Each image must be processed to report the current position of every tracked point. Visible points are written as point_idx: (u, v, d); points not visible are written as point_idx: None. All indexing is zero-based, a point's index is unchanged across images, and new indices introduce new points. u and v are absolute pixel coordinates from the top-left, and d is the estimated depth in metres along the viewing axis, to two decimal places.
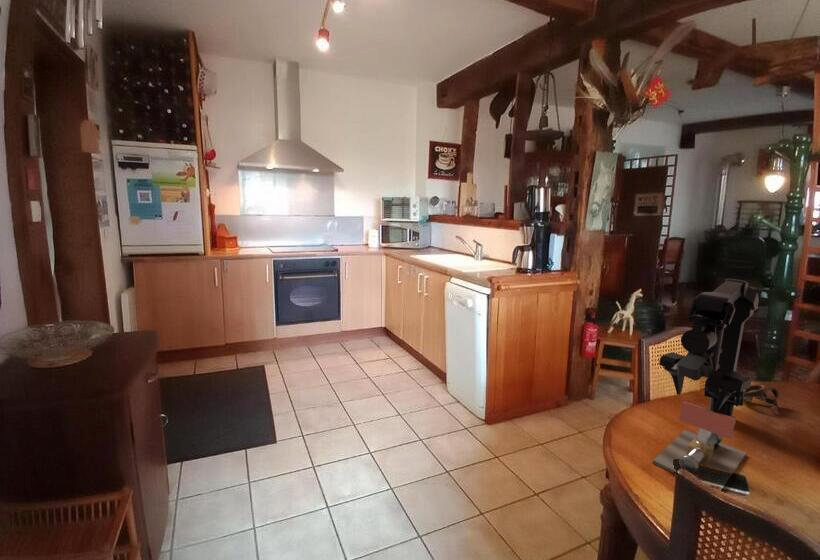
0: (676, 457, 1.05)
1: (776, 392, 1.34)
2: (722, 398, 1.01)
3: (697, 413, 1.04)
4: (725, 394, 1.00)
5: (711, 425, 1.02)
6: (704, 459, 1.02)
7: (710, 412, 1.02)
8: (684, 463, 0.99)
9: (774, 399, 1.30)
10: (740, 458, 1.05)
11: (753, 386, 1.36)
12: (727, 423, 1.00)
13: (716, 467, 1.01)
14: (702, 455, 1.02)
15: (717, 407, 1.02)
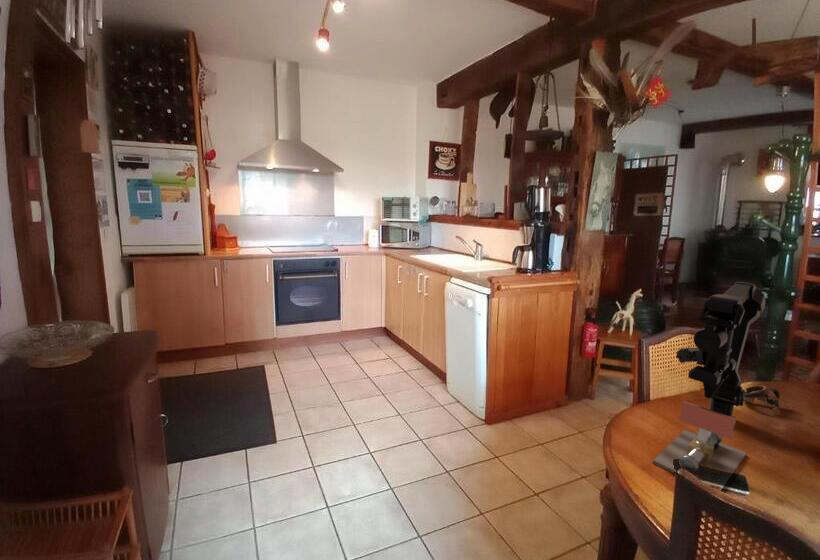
0: (676, 457, 1.05)
1: (778, 393, 1.34)
2: None
3: (697, 413, 1.04)
4: None
5: (711, 425, 1.02)
6: (704, 459, 1.02)
7: (710, 412, 1.02)
8: (684, 463, 0.99)
9: (776, 400, 1.29)
10: (740, 458, 1.05)
11: (754, 387, 1.36)
12: (727, 423, 1.00)
13: (716, 467, 1.01)
14: (702, 455, 1.02)
15: None
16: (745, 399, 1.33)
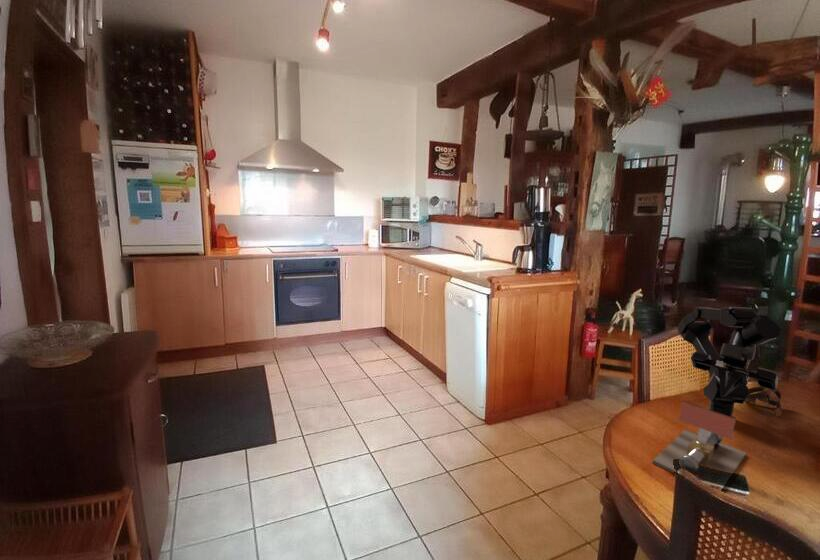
0: (676, 457, 1.05)
1: (779, 394, 1.33)
2: (731, 383, 1.11)
3: (697, 413, 1.04)
4: (736, 379, 1.10)
5: (711, 425, 1.02)
6: (704, 459, 1.02)
7: (710, 412, 1.02)
8: (684, 463, 0.99)
9: (777, 401, 1.29)
10: (740, 458, 1.05)
11: (756, 388, 1.35)
12: (727, 423, 1.00)
13: (716, 467, 1.01)
14: (702, 455, 1.02)
15: (724, 392, 1.11)
16: (747, 400, 1.32)
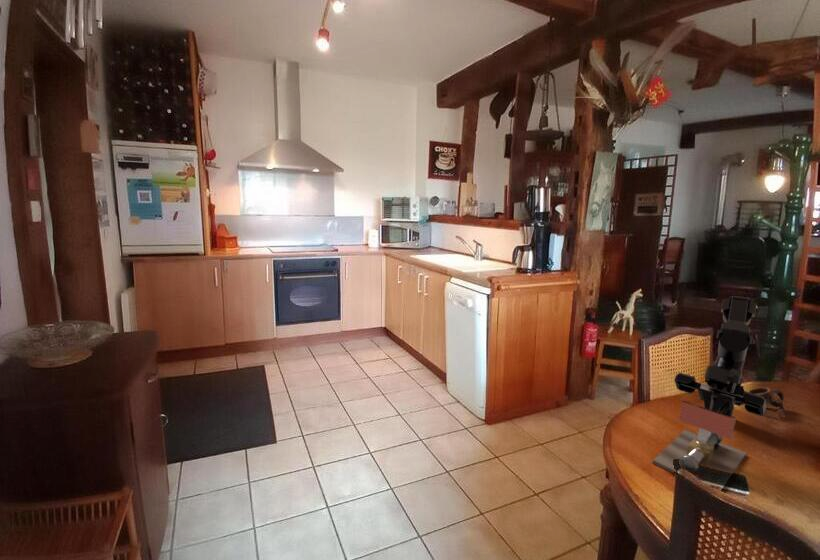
0: (676, 457, 1.05)
1: (782, 395, 1.32)
2: (717, 408, 1.03)
3: (697, 413, 1.04)
4: (721, 404, 1.03)
5: (711, 425, 1.02)
6: (704, 459, 1.02)
7: (710, 412, 1.02)
8: (684, 463, 0.99)
9: (780, 402, 1.28)
10: (740, 458, 1.05)
11: (758, 389, 1.34)
12: (727, 423, 1.00)
13: (716, 467, 1.01)
14: (702, 455, 1.02)
15: None
16: None
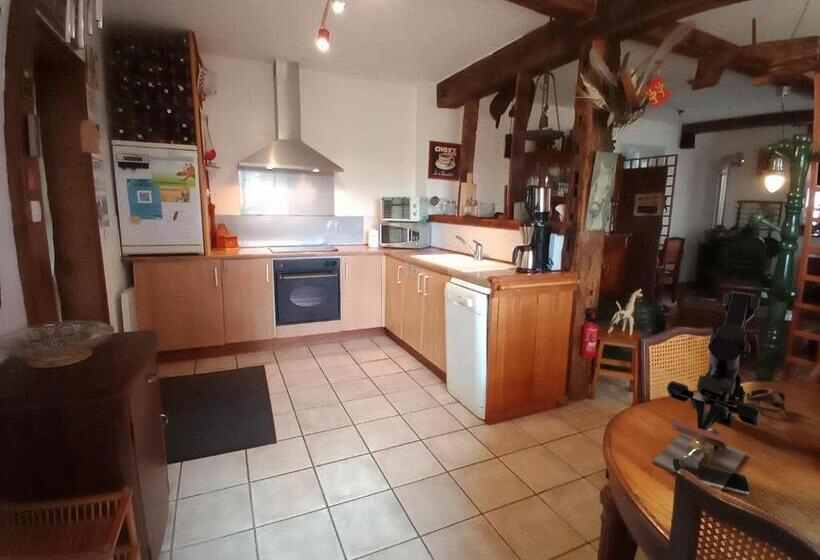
0: (676, 457, 1.05)
1: (783, 396, 1.32)
2: (710, 419, 1.01)
3: (688, 431, 1.01)
4: (714, 414, 1.00)
5: (705, 439, 1.00)
6: (704, 459, 1.02)
7: (699, 433, 0.98)
8: (684, 463, 0.99)
9: (782, 403, 1.27)
10: (740, 458, 1.05)
11: (760, 390, 1.34)
12: (718, 442, 0.96)
13: (716, 467, 1.01)
14: (702, 455, 1.02)
15: None
16: (751, 402, 1.31)
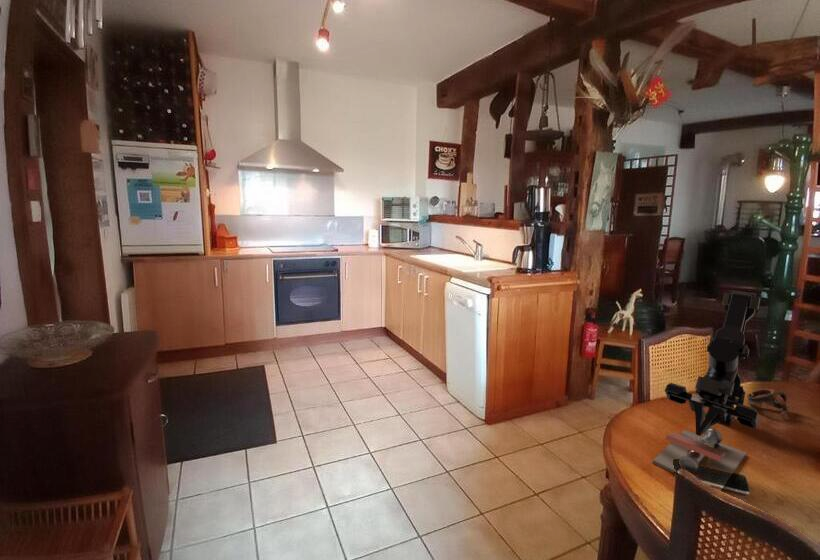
0: (676, 457, 1.05)
1: (785, 397, 1.31)
2: (708, 421, 1.00)
3: None
4: (713, 416, 0.99)
5: None
6: (704, 459, 1.02)
7: None
8: (684, 463, 0.99)
9: (784, 404, 1.27)
10: (740, 458, 1.05)
11: (761, 391, 1.33)
12: None
13: (716, 467, 1.01)
14: (702, 455, 1.02)
15: (700, 431, 1.00)
16: (752, 403, 1.30)
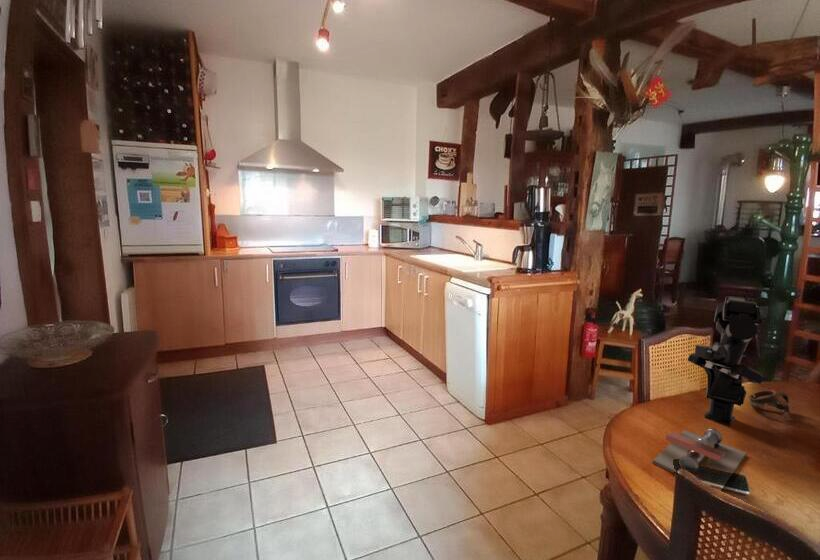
0: (676, 457, 1.05)
1: (787, 398, 1.30)
2: (715, 382, 1.13)
3: None
4: (718, 378, 1.12)
5: None
6: (704, 459, 1.02)
7: None
8: (684, 463, 0.99)
9: (786, 405, 1.26)
10: (740, 458, 1.05)
11: (763, 392, 1.32)
12: None
13: (716, 467, 1.01)
14: (702, 455, 1.02)
15: (710, 392, 1.13)
16: (755, 405, 1.29)
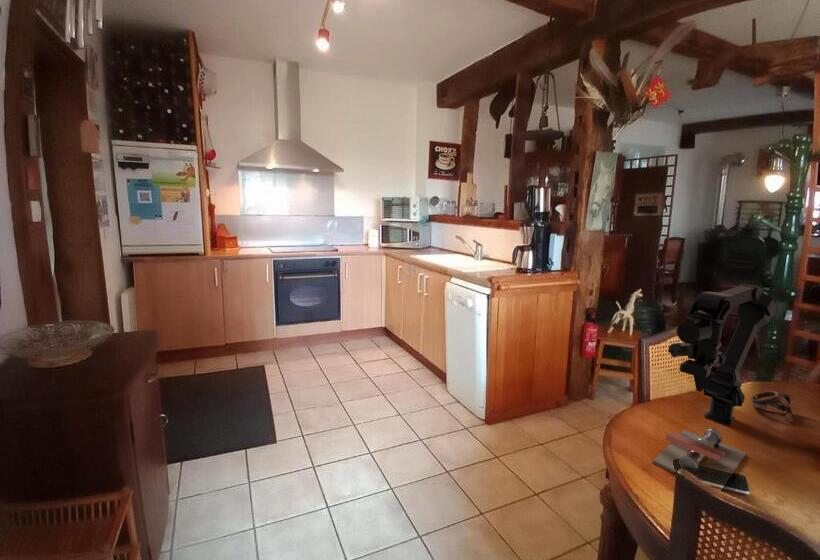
0: (676, 457, 1.05)
1: (789, 399, 1.30)
2: None
3: None
4: None
5: None
6: (704, 459, 1.02)
7: None
8: (684, 463, 0.99)
9: (789, 406, 1.25)
10: (740, 458, 1.05)
11: (765, 393, 1.32)
12: None
13: (716, 467, 1.01)
14: (702, 455, 1.02)
15: None
16: (757, 406, 1.29)
